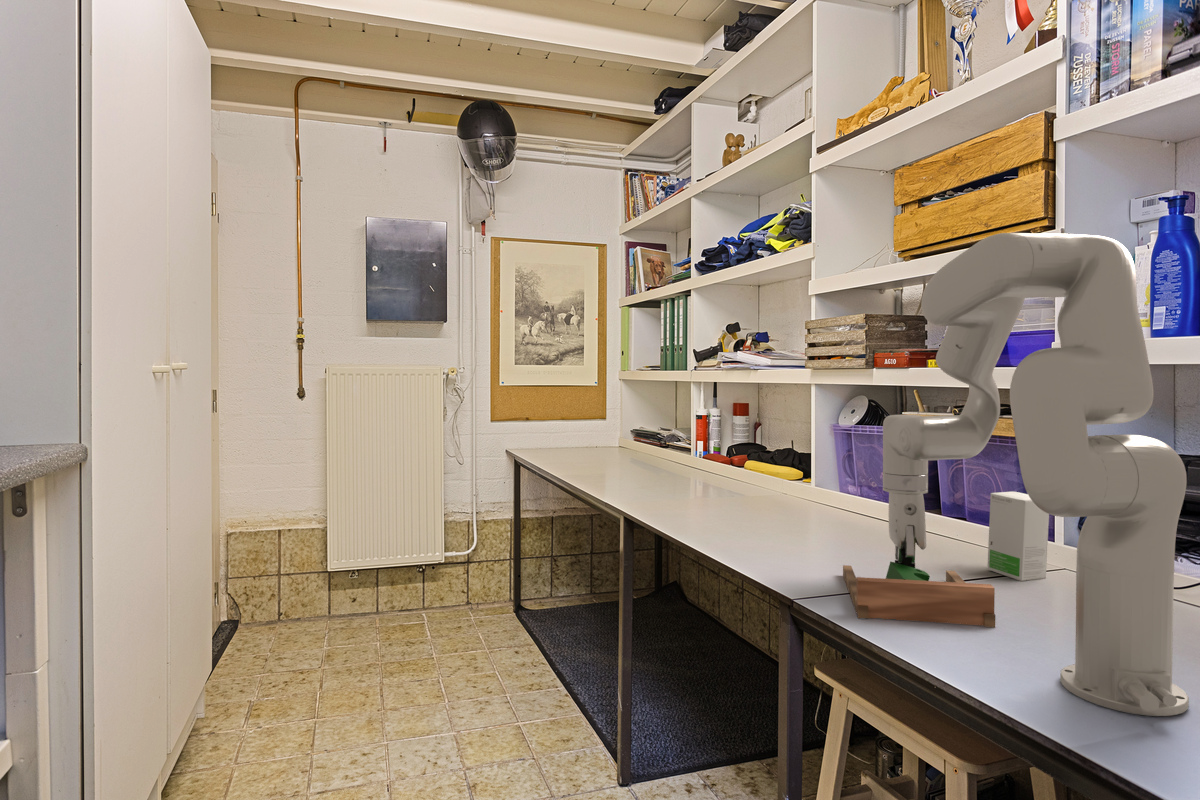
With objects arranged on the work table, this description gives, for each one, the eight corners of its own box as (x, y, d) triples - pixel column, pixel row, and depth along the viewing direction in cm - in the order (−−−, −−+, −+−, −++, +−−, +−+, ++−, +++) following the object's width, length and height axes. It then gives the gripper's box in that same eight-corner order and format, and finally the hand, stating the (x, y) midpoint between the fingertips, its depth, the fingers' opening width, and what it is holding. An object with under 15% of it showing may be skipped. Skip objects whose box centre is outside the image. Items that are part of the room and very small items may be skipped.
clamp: (924, 637, 117) (943, 596, 113) (887, 626, 118) (904, 585, 114) (916, 590, 128) (933, 551, 123) (882, 581, 129) (898, 542, 124)
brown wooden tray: (995, 627, 109) (995, 588, 109) (858, 618, 114) (858, 581, 114) (954, 581, 133) (954, 549, 133) (842, 575, 138) (843, 544, 138)
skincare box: (986, 570, 141) (987, 492, 140) (1012, 567, 143) (1013, 490, 142) (1023, 582, 133) (1023, 499, 132) (1050, 578, 135) (1050, 497, 134)
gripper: (937, 490, 120) (936, 597, 120) (918, 477, 134) (918, 573, 135) (889, 489, 122) (889, 594, 122) (876, 476, 136) (876, 571, 137)
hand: (904, 583), depth 129 cm, fingers closed
